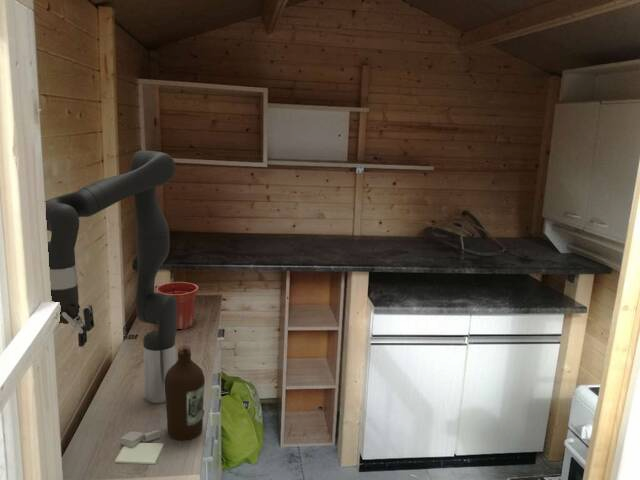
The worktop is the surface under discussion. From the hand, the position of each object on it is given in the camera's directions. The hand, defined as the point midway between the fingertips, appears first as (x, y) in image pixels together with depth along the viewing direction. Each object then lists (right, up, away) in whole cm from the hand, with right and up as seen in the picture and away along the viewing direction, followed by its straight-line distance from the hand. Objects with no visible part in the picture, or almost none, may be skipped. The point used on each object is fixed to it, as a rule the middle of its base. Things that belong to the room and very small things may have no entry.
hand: (64, 344), depth 135 cm
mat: (+18, -29, +4) cm, 34 cm away
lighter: (+15, -27, +5) cm, 31 cm away
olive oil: (+27, -27, +15) cm, 41 cm away
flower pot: (+5, -9, +87) cm, 88 cm away
